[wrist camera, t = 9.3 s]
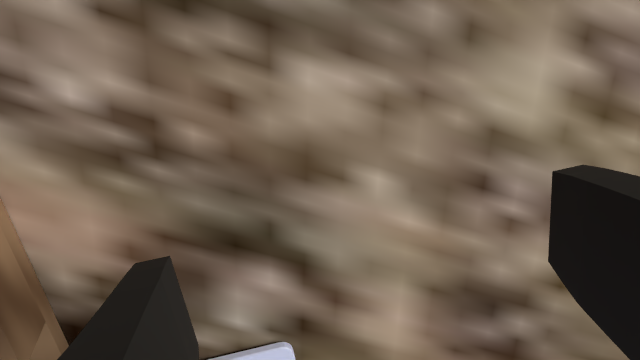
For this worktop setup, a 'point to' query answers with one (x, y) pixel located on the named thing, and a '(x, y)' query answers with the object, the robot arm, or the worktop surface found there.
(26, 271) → the rack
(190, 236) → the worktop surface
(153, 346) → the robot arm
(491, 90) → the worktop surface
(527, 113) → the worktop surface
